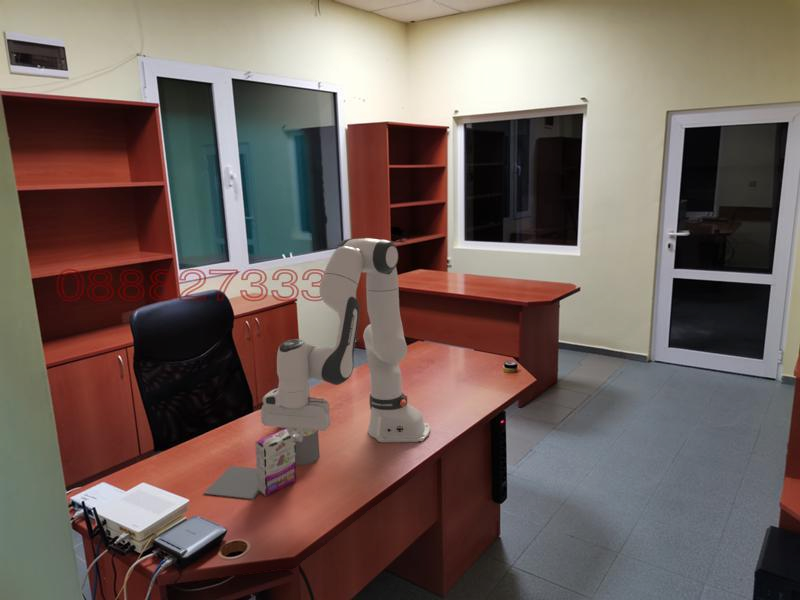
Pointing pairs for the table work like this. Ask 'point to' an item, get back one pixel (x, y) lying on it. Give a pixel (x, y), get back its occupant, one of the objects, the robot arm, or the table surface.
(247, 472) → the mat
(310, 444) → the coffee mug
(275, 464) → the candy bar box
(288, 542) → the table surface
